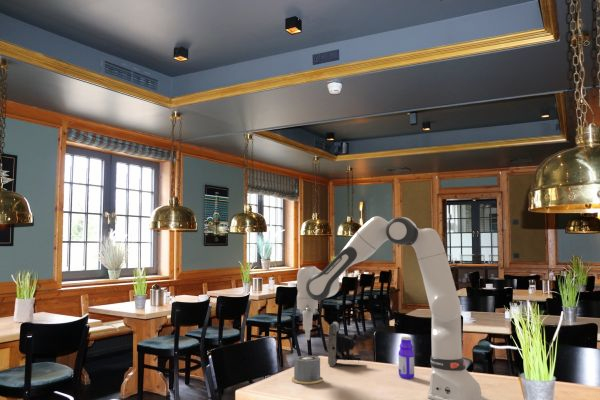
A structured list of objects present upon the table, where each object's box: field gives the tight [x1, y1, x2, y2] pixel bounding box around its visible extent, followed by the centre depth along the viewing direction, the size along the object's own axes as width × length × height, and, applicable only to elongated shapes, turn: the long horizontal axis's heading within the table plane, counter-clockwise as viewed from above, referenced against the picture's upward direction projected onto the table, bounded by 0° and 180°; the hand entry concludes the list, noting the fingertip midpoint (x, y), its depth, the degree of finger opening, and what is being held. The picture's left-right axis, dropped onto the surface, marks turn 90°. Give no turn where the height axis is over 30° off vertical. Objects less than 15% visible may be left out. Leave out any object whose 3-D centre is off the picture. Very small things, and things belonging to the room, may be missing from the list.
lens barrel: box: [291, 355, 324, 385], centre depth 218 cm, size 13×13×9 cm
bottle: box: [398, 335, 415, 380], centre depth 224 cm, size 7×6×17 cm
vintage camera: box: [327, 320, 363, 367], centre depth 247 cm, size 10×16×20 cm, turn 78°
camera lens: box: [300, 357, 314, 360], centre depth 218 cm, size 6×6×4 cm
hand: (307, 337), depth 219 cm, fingers open, 8 cm apart
